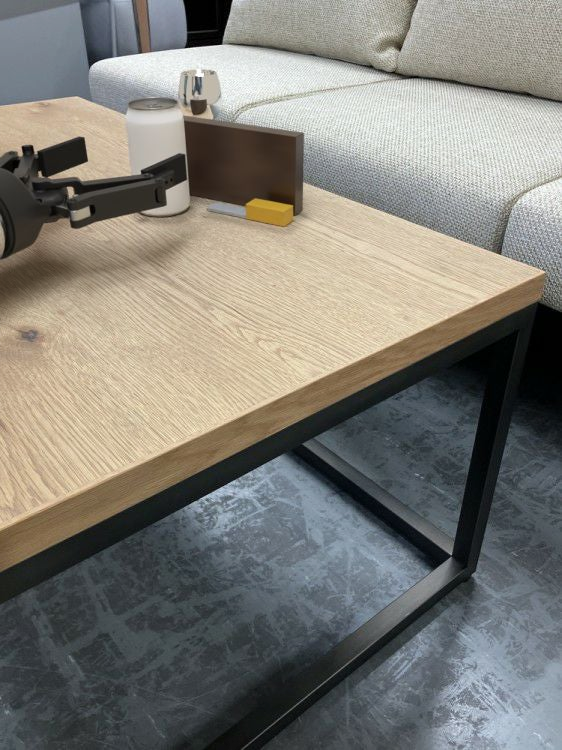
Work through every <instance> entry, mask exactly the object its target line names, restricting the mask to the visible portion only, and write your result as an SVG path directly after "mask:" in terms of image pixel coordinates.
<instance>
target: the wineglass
mask: <svg viewBox="0 0 562 750" xmlns="http://www.w3.org/2000/svg"><path fill="white" fill-rule="evenodd" d="M220 83H221V82H220V80H219V75H218V73H217V71H216V70H212V69H203V68H202V69H188V70H184V71H181V72H180V75H179V83H178V92H177V93H178V94H177V95H178V96H177V97H178V100H177V101H178V102H179V103H178V107H179V109H180V111H181V112H182V115H184V116H191V117H198V118H205V119H212V120H217V118H218V117H219V116H220V115H221V113H222V110H223V109H222V108H223V92H222V88H221V84H220Z"/></svg>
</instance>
